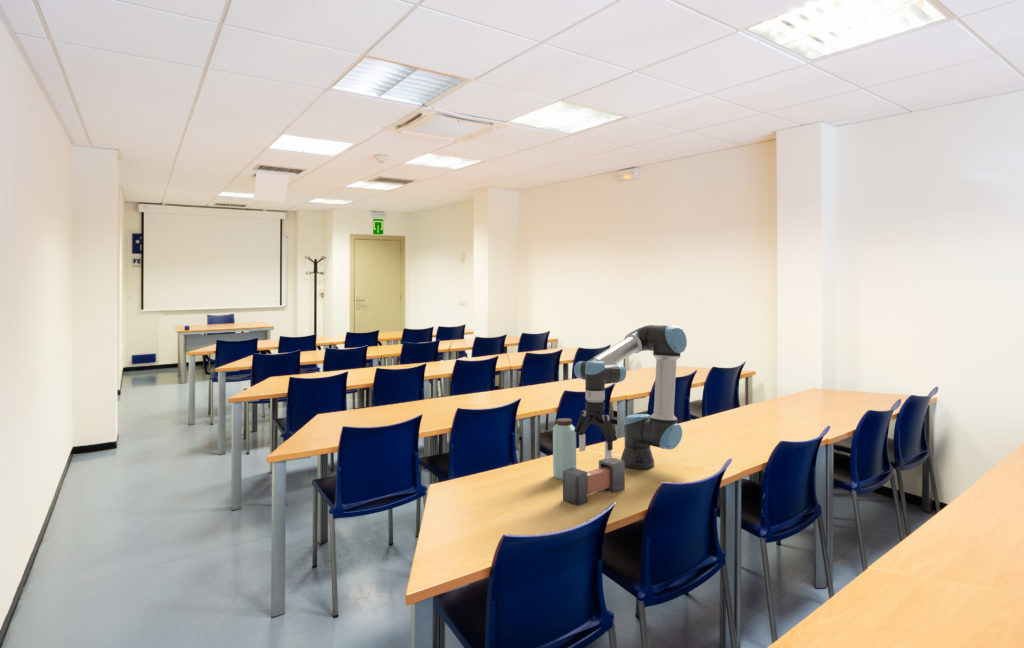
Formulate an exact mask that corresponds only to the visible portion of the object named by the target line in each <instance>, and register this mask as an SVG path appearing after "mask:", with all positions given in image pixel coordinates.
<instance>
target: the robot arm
mask: <svg viewBox="0 0 1024 648" xmlns="http://www.w3.org/2000/svg"><path fill="white" fill-rule="evenodd" d="M687 341H688V340H687V336H686V333H685V332H684V329H682V327H679V326H676V325H659V324H657V325H653V324H650V325H649V324H648V325H645V326H641V327H639V328H637V329H635V330H633V331H631V332H629V333H628V334H626V335H625V337H624V339H622V340H621V341H618V342H617V343H615V344H613V345H611V347H608V348H607V349H605V350H604V351H602V352H601V353H598V354H596V355H595V356H594V357H592V358H590V359H588V360H587V361H586V360H585V361H584V360H580V361H578V362H576V363H575V365H574V367H573V372H574V375H575V377H576V378H577V379H579V380H584V381H585V382H584V383H585V388H584V389H585V391H584V393H585V396H584V397H585V403H584V404H585V405H584V406H585V407H584V410H580V411H579V418H578V419H577V422H576V425H575V426H574V427H575V430H574V431H575V432H576V434H577V436H578V437H577V439H578V444H579V445H578V447H579V448H578V449H579V452H585V451H586V434H585V433H586V431H587V430H588V428H589V427H590V426H591V425H594V426H597V427H598V428H599V430H600V431H601V433H602V434H603V437H604V438H605V442H604V457H605V458H604V459H609V458H611V457H612V450H613V447H614V446H613V443H614V442H615V441H618V437H617V434H616V432H615V429H614V426H613V424H612V420H611V415H610V414H607V415H605V414H604V412H605V408H606V407H605V405H606V403H605V400H606V393H605V392H606V390H605V389H606V386H605V385H608V384H618V383H622V382H623V381H625V379H626V377H627V369H626V367H625V366H624V365H623V364H621V362H622V361H624V360H625V359H627V358H628V357H630V356H631V355H633V354H639V353H641V352H645V351H651V352H652V354H653V355H652V356H653V357H654V358H655V359H656V361H655V362H656V363H655V380H654V383H655V384H654V399H653V400H654V402H653V413H652V414H651V415H650V414H648V413H637V414H634V413H633V414H628V415H627V416H625V417H624V424H623V427H624V434H623V436H624V446H623V447H624V448H623V451H622V455H621V457H620V460H622V461H624V467H625V468H628V469H633V470H634V469H635V470H645V469H646V470H647V469H651V468H653V467H654V466H655V459H654V457H653V452H652V449H651V447H654V448H655V447H657V448H660V449H662V450H671V451H672V450H674V449H676V448H677V447H678V446H679V444H680V443H681V440H682V436H683V428H682V426H681V425H680V424H679V423H678V417H677V416H675V401H676V400H675V398H676V397H675V395H676V377H677V375H676V374H677V361H678V359H680V357H681V353H683V352H685V350H686V347H687V346H688V344H687V343H688V342H687Z"/></svg>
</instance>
